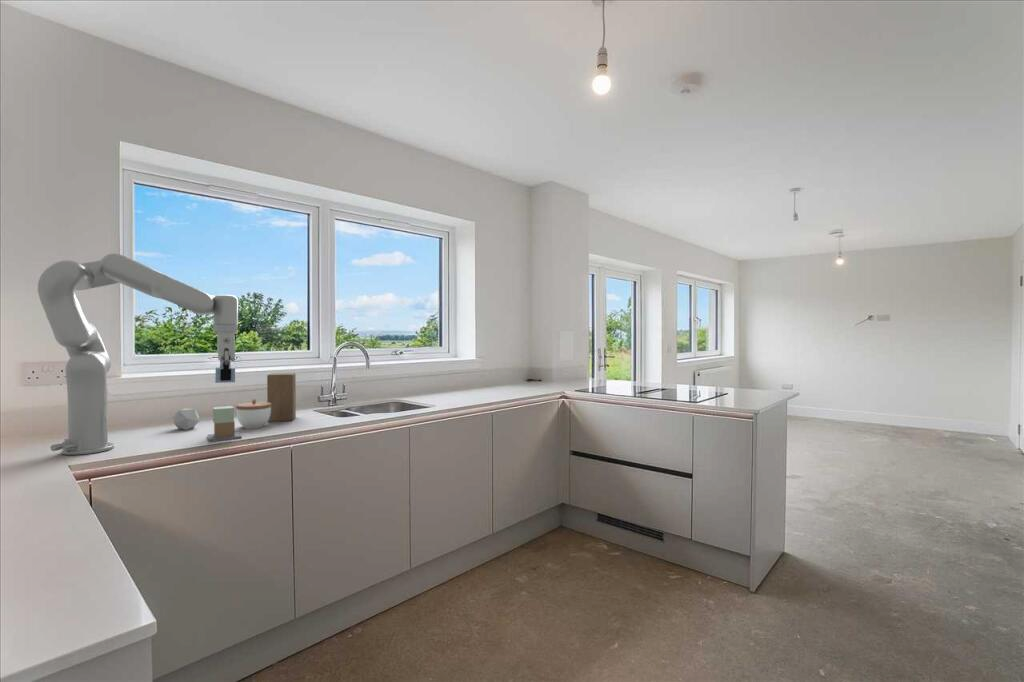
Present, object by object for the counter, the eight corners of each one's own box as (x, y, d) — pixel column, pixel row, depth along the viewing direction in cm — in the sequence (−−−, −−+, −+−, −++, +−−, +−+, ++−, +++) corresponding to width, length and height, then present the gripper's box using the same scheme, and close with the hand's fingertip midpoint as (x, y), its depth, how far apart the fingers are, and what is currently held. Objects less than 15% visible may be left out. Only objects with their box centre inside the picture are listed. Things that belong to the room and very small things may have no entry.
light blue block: (235, 382, 176) (235, 368, 176) (215, 382, 173) (215, 368, 173) (234, 380, 181) (234, 367, 181) (215, 381, 178) (215, 367, 178)
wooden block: (271, 418, 218) (270, 372, 217) (295, 417, 221) (295, 372, 220) (267, 422, 208) (267, 374, 208) (293, 420, 211) (292, 374, 211)
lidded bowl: (238, 431, 189) (238, 402, 189) (234, 426, 199) (234, 398, 199) (274, 427, 196) (274, 399, 196) (268, 422, 207) (268, 396, 206)
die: (204, 429, 195) (202, 408, 200) (190, 422, 188) (188, 400, 192) (183, 437, 194) (182, 415, 199) (168, 430, 187) (167, 408, 191)
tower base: (241, 438, 176) (241, 422, 176) (208, 441, 170) (208, 424, 170) (239, 433, 184) (238, 418, 184) (207, 436, 179) (207, 420, 179)
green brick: (233, 421, 176) (233, 407, 176) (214, 423, 173) (214, 409, 173) (232, 419, 181) (232, 405, 181) (213, 421, 178) (212, 407, 178)
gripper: (239, 329, 172) (239, 381, 172) (235, 329, 186) (234, 377, 186) (214, 329, 168) (213, 382, 168) (212, 329, 182) (211, 378, 182)
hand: (225, 379), depth 177 cm, fingers closed on light blue block, 6 cm apart
